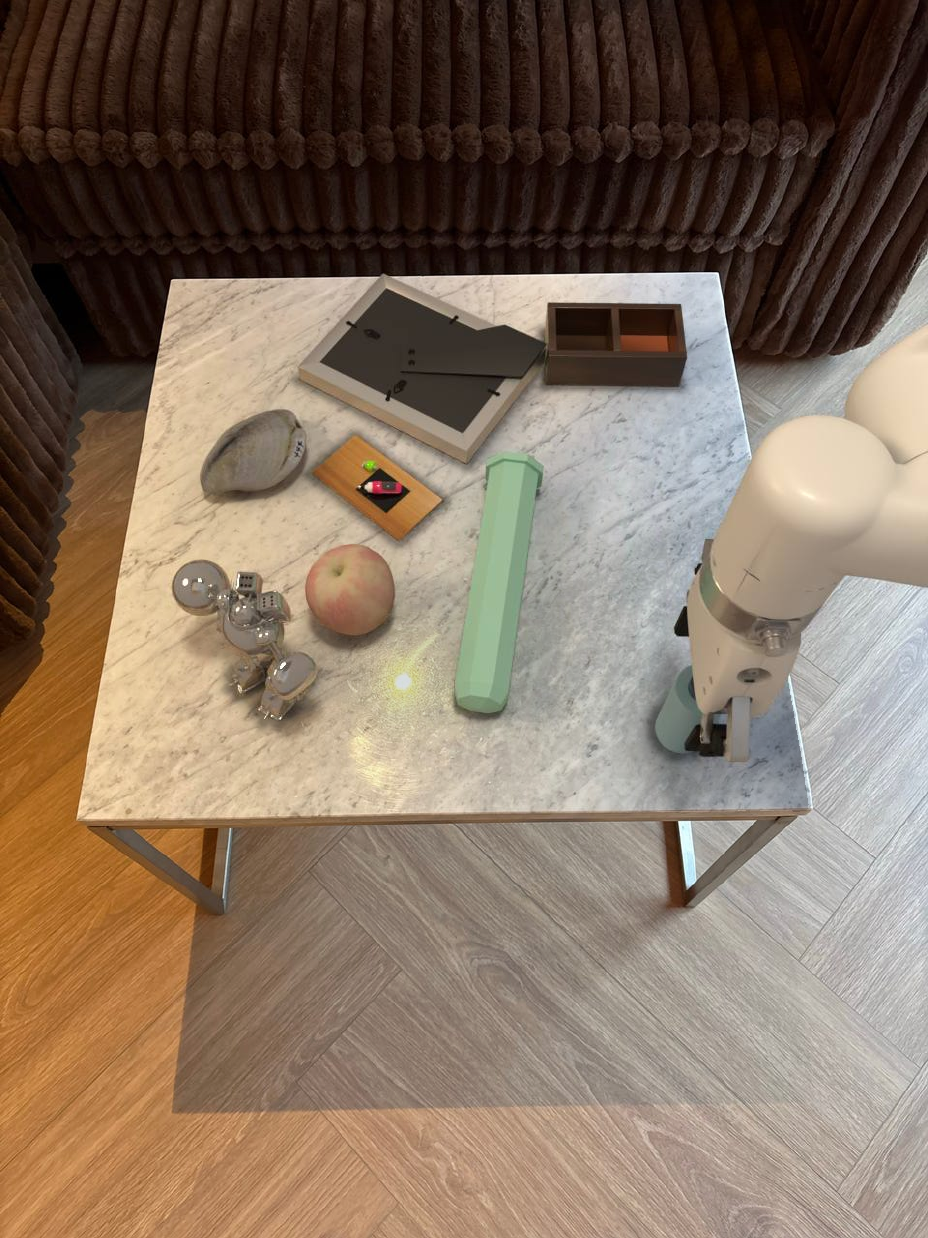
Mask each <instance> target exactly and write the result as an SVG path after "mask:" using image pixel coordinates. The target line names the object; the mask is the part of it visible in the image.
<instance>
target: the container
mask: <svg viewBox="0 0 928 1238" xmlns="http://www.w3.org/2000/svg"><path fill="white" fill-rule="evenodd" d="M544 469H545V465H544V464H542V463H541V462H540V461H538V460H537V459H535V457H533V456H531V455H530V454H529V453H523V452H514V451H508V450H504V451H501V452H499V453H497V454H495V455H493V456H491V457H489V458H487V459H486V464H485V481H486V482H487V485H486V491H485V498H484V505H483V510H482V515H481V522H480V528H479V533H478V540H477V545H476V546H477V547H476V552H475V557H474V558H475V559H474V564H473V571H472V575H471V576H472V577H471V582H470V589H469V594H468V601H467V607H466V613H465V619H464V625H463V631H462V637H461V643H460V649H459V655H458V661H457V668H456V674H455V679H454V695H455V698H456V703H457V705H458V706H460V707H462V708H464V709H466V710H468V711H470V712H477V713H481V714H491V713H495V712H496V713H497V712H500V711H501V712H502V710H503V708H504V707H505V705H506V703H508V700H509V692H510V684H511V678H512V671H513V663H514V656H515V650H516V649H515V648H516V642H517V634H518V626H519V622H520V621H519V619H520V614H521V613H520V612H521V605H522V598H523V591H524V584H525V576H526V568H527V562H528V555H529V546H530V541H531V531H532V526H533V525H532V524H533V518H534V510H535V504H536V496H537V489H539V488H542V485H543V476H544Z"/></svg>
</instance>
